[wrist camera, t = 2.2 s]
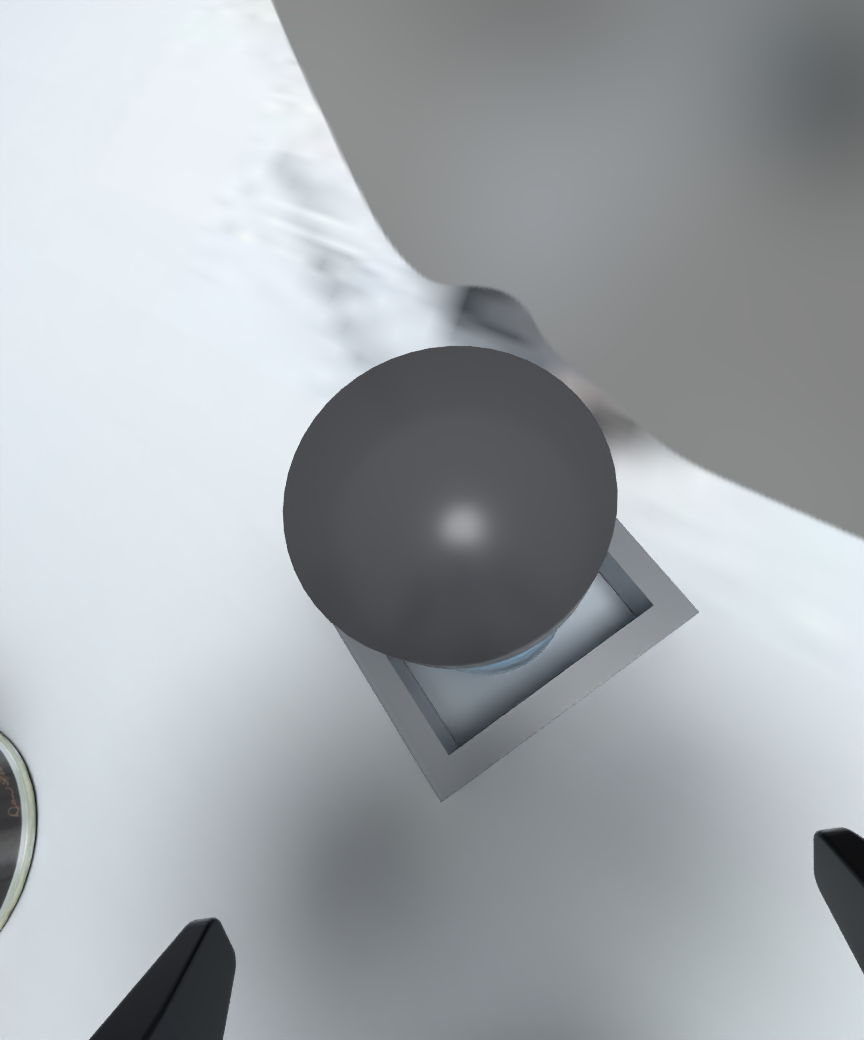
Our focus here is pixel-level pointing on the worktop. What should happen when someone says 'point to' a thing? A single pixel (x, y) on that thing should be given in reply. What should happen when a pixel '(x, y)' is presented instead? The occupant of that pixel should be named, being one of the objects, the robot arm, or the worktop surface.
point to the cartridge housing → (456, 766)
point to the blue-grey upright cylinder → (451, 508)
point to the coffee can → (14, 826)
